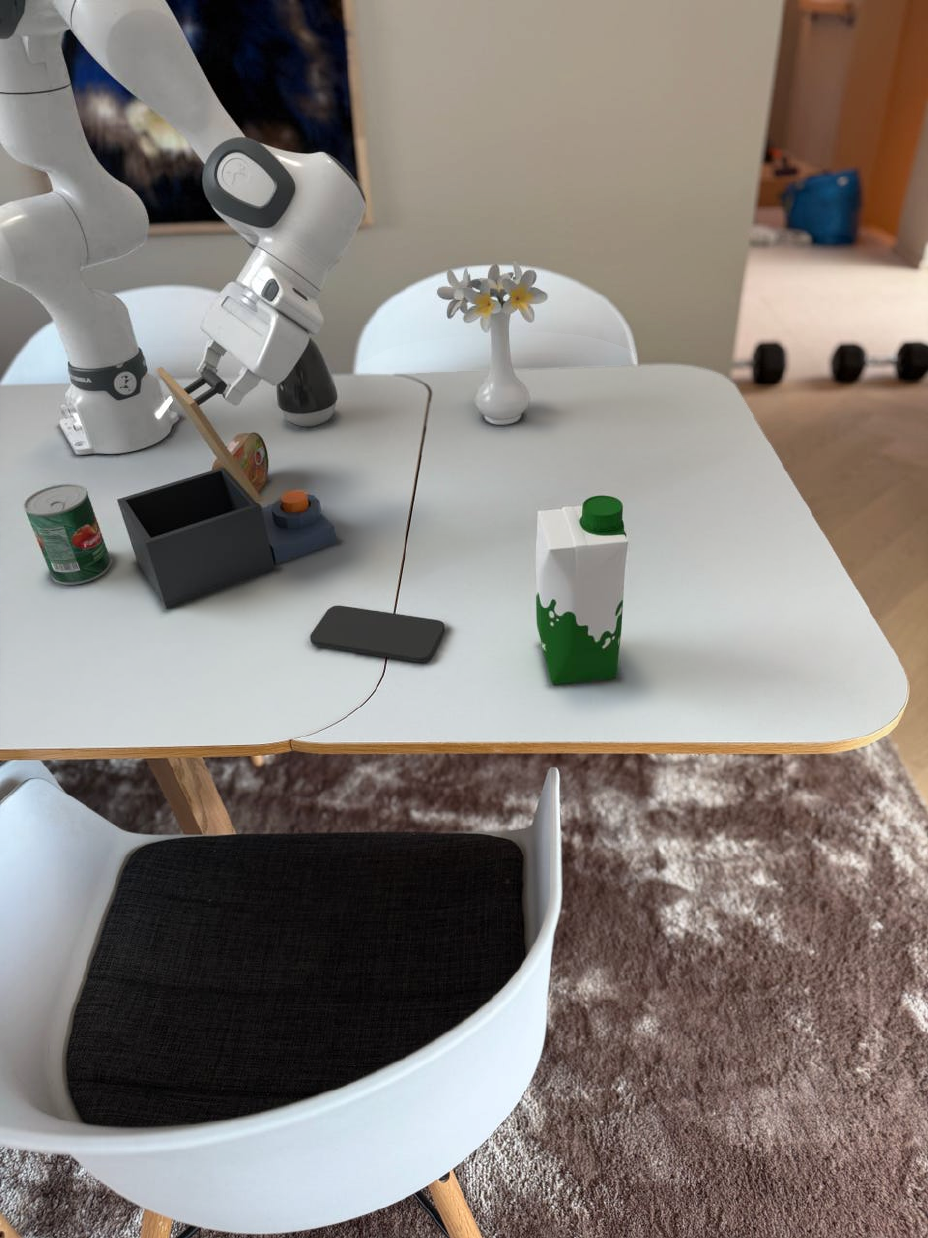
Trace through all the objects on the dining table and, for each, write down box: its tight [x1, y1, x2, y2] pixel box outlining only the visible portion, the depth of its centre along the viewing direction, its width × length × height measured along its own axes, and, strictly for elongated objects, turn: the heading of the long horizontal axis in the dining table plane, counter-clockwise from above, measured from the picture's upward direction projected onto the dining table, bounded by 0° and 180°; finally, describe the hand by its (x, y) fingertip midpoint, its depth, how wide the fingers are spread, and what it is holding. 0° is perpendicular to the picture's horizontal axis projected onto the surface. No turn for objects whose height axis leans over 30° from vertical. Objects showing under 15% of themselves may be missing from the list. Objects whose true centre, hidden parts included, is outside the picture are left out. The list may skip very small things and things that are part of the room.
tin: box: [211, 431, 270, 493], centre depth 135 cm, size 15×3×8 cm, turn 168°
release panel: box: [261, 493, 337, 565], centre depth 126 cm, size 9×11×4 cm
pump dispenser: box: [275, 336, 339, 427], centre depth 153 cm, size 10×10×15 cm
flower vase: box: [436, 260, 549, 426], centre depth 147 cm, size 13×18×25 cm
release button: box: [280, 489, 309, 513], centre depth 125 cm, size 4×4×2 cm
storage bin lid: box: [155, 366, 263, 504], centre depth 114 cm, size 16×13×5 cm
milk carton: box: [535, 494, 629, 686], centre depth 96 cm, size 9×9×20 cm
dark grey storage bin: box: [116, 467, 276, 610], centre depth 120 cm, size 15×13×10 cm
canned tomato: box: [23, 483, 112, 586], centre depth 121 cm, size 8×8×11 cm
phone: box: [309, 605, 446, 663], centre depth 108 cm, size 7×1×15 cm
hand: (215, 388), depth 111 cm, fingers open, 8 cm apart
